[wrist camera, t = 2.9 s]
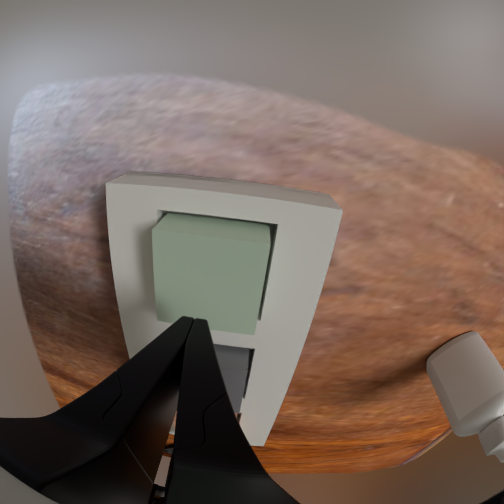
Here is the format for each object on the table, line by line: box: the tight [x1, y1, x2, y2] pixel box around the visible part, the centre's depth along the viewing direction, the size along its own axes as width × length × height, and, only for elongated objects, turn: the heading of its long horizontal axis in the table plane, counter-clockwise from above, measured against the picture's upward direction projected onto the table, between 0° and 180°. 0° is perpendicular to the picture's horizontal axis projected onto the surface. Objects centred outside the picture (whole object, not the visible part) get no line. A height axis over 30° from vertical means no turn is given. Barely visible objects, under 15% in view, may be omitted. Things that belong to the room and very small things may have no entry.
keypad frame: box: [106, 171, 343, 446], centre depth 16 cm, size 21×10×3 cm, turn 173°
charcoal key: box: [214, 344, 249, 413], centre depth 15 cm, size 4×4×2 cm
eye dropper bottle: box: [427, 331, 504, 463], centre depth 13 cm, size 4×6×12 cm
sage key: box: [152, 213, 271, 335], centre depth 12 cm, size 4×4×2 cm
